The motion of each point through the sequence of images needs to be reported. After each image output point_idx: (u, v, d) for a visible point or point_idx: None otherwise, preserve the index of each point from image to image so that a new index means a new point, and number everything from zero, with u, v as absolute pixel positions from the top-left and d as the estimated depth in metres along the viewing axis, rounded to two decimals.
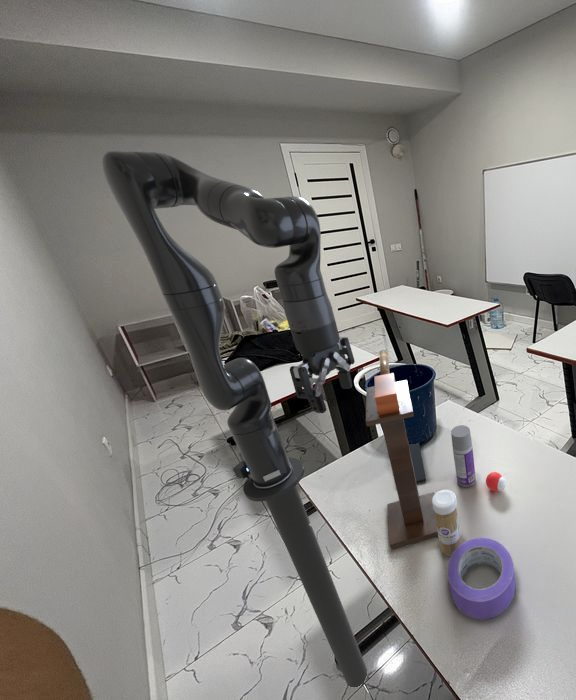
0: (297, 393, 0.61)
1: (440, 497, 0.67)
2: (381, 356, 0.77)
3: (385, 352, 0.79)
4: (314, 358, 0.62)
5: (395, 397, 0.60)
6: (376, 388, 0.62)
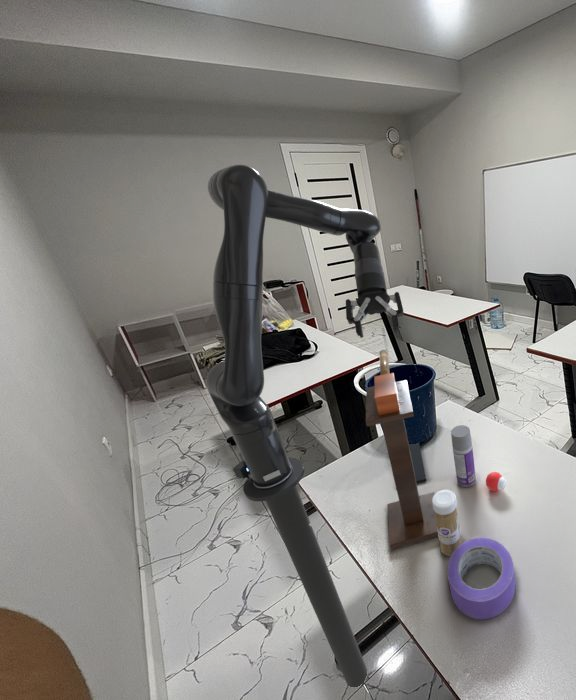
0: None
1: (441, 497, 0.67)
2: (381, 356, 0.77)
3: (385, 352, 0.79)
4: (360, 297, 0.92)
5: (395, 397, 0.60)
6: (376, 388, 0.62)
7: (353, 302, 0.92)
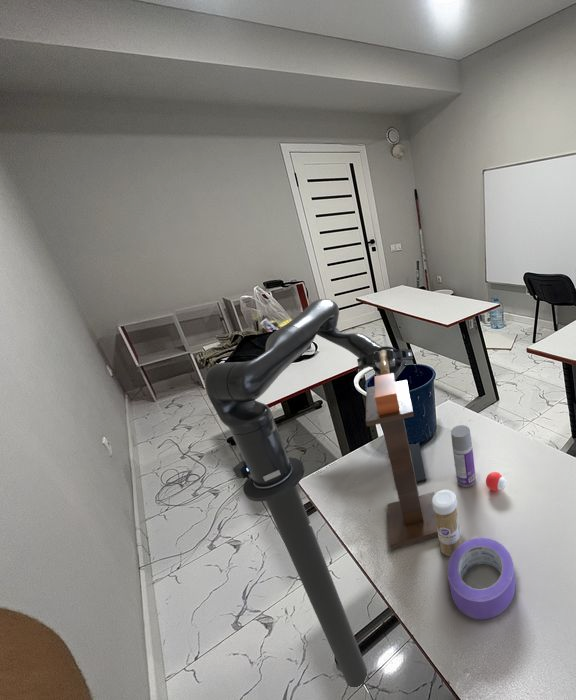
0: (366, 364, 0.80)
1: (441, 497, 0.67)
2: (381, 356, 0.77)
3: (385, 352, 0.79)
4: None
5: (395, 397, 0.60)
6: (376, 388, 0.62)
7: None
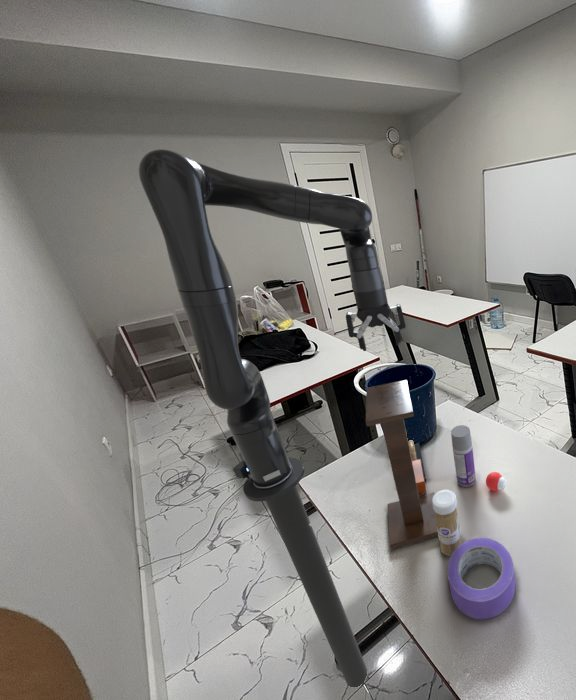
0: None
1: (441, 497, 0.67)
2: None
3: None
4: (360, 312, 0.88)
5: (423, 483, 0.84)
6: None
7: (353, 316, 0.88)
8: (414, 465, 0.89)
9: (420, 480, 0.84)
